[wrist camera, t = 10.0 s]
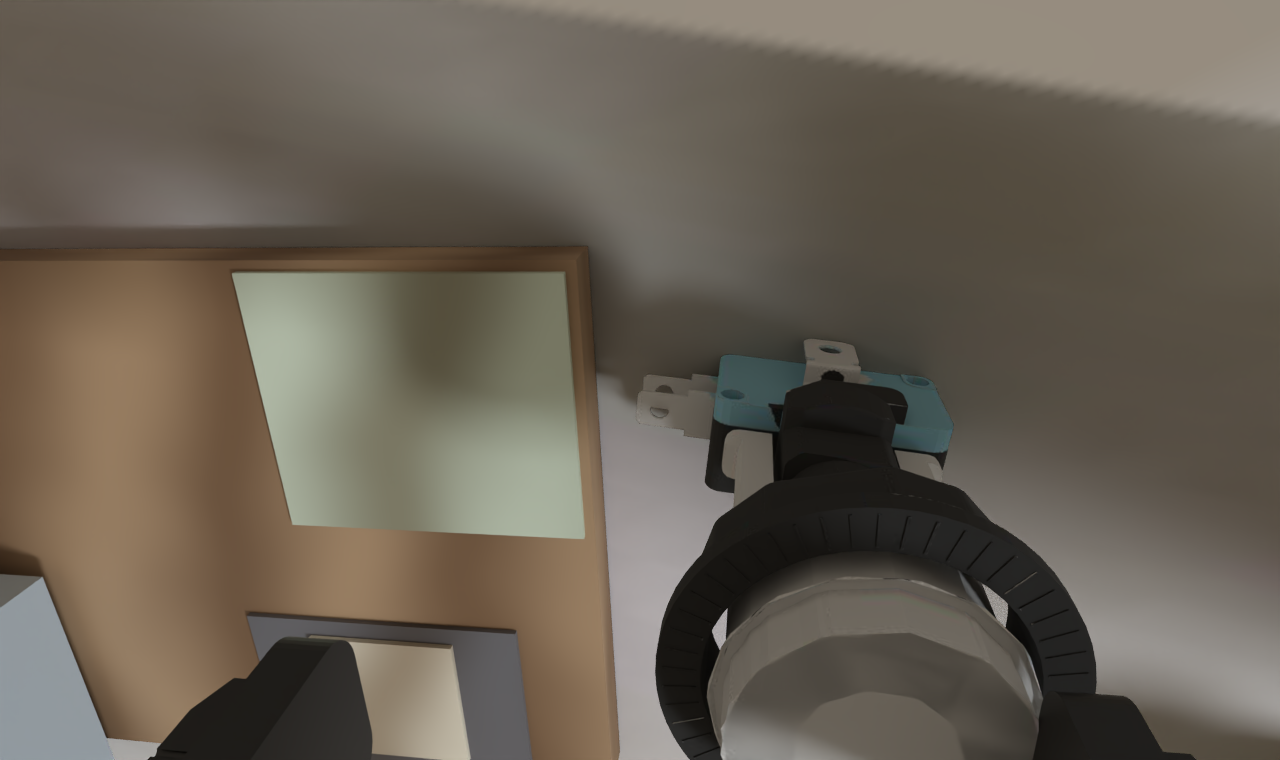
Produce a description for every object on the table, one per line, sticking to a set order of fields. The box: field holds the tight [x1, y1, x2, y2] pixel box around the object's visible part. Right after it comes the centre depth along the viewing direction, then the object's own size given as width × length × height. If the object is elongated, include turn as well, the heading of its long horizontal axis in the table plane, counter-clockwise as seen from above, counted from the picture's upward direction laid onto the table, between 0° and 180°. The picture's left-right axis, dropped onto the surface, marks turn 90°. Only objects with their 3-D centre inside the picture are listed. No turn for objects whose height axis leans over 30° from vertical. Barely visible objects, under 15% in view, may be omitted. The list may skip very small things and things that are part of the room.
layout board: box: [0, 246, 620, 760], centre depth 21 cm, size 18×15×2 cm
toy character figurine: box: [636, 339, 1097, 760], centre depth 14 cm, size 7×5×10 cm
